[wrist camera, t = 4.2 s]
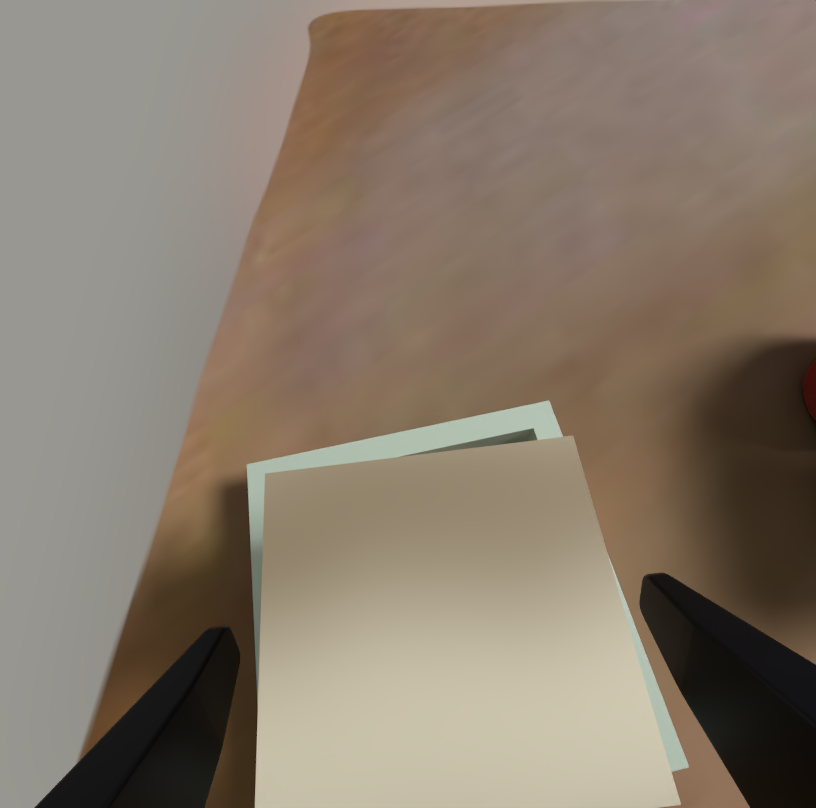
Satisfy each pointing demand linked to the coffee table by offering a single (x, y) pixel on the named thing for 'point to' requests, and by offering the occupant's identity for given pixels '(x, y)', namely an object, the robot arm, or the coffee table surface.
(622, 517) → the coffee table surface
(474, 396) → the coffee table surface
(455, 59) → the coffee table surface
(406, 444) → the frame
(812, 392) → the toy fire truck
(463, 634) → the maple block
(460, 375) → the coffee table surface
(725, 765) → the robot arm
